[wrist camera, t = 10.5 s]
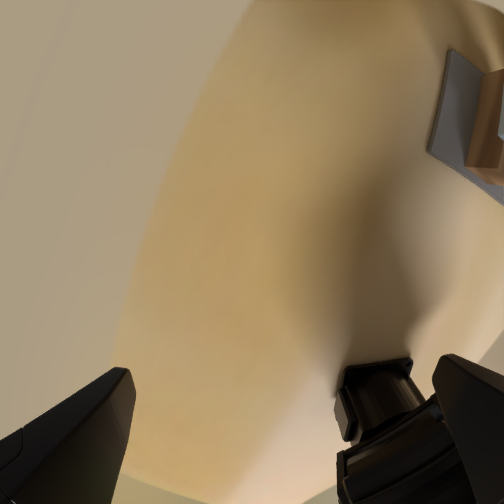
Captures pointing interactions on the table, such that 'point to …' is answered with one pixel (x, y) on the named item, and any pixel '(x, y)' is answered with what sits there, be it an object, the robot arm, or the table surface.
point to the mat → (459, 120)
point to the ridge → (488, 132)
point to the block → (501, 119)
